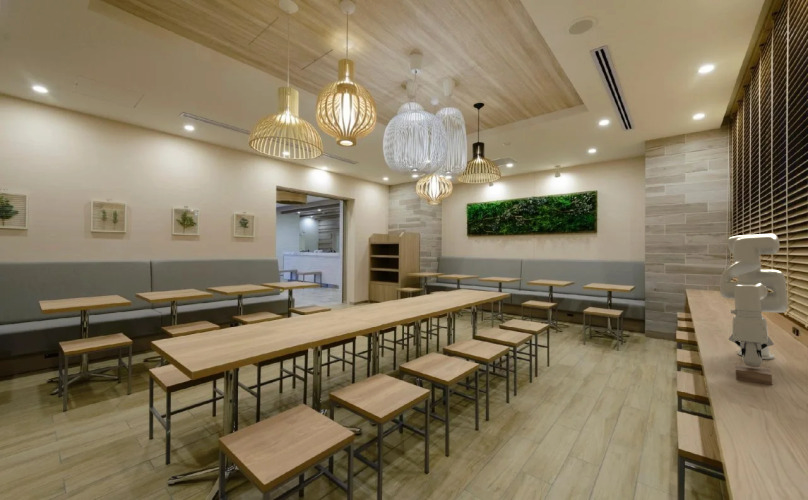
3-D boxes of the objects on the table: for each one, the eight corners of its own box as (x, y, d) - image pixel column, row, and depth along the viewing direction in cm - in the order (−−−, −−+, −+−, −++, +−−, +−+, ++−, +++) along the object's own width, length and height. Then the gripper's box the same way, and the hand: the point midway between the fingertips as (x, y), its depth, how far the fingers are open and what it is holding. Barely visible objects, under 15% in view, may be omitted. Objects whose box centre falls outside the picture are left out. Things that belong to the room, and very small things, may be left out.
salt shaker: (767, 367, 135) (764, 335, 135) (750, 367, 136) (748, 336, 136) (754, 363, 140) (752, 332, 141) (739, 363, 141) (736, 332, 142)
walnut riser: (736, 372, 145) (735, 363, 145) (770, 377, 138) (769, 367, 138) (736, 379, 138) (735, 369, 138) (772, 385, 131) (771, 374, 131)
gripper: (720, 313, 142) (723, 356, 142) (777, 317, 130) (781, 364, 130) (722, 311, 147) (725, 352, 147) (777, 314, 135) (781, 359, 135)
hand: (751, 357), depth 138 cm, fingers closed on salt shaker, 3 cm apart
